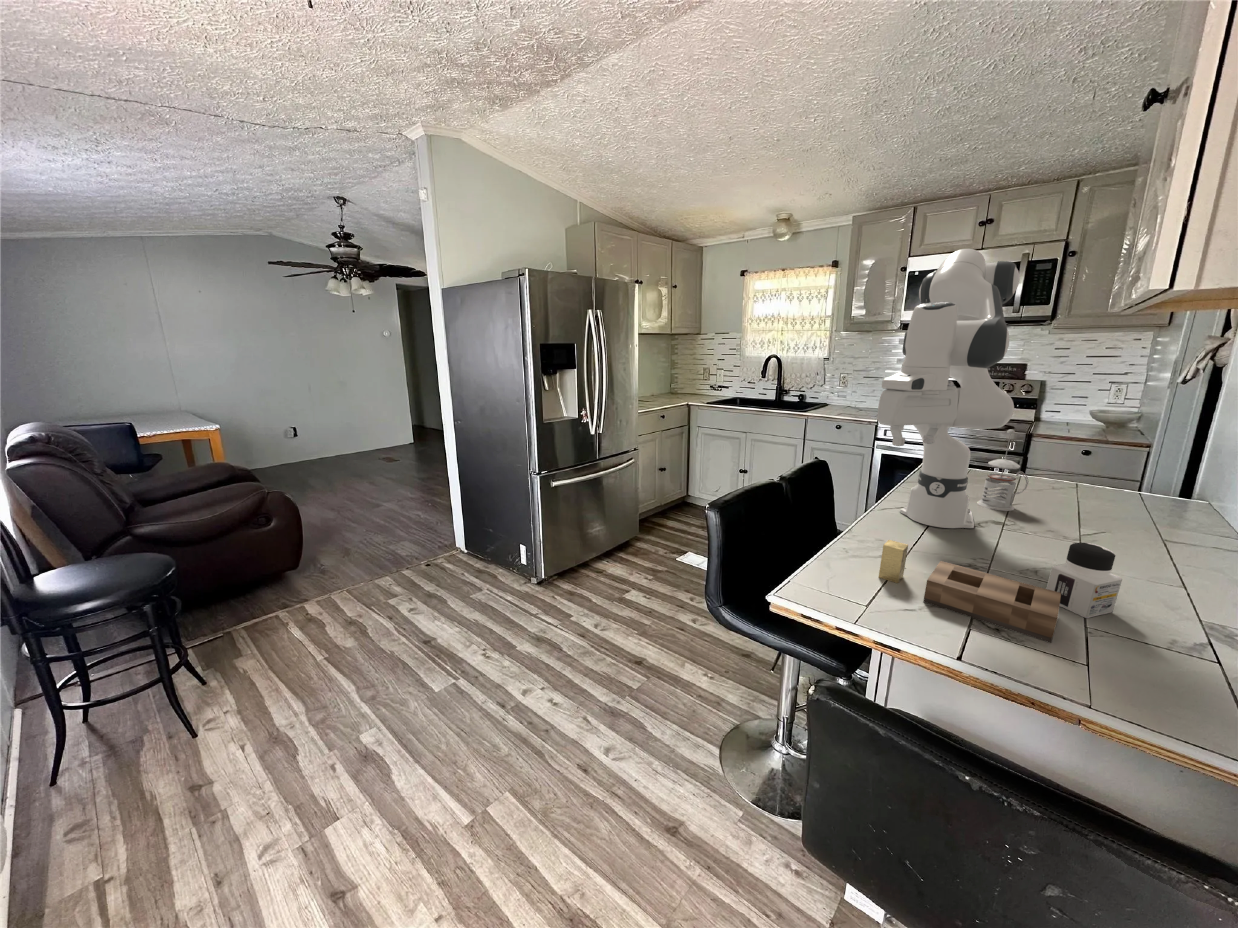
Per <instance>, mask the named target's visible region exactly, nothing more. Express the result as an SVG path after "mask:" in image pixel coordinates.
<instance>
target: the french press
mask: <svg viewBox="0 0 1238 928" xmlns="http://www.w3.org/2000/svg"><path fill="white" fill-rule="evenodd" d="M1015 432H1016V431H1015V430H1014V429H1008V430H1006V433H1007V434H1009V438H1008V442H1007V445H1006V452H1005V457H1004V458H1003V459H1001V458H997V459H993V460H991V461H988V463H987V464H988V465H989V466H990V467H994V468H998V469H1002V470H1001V471H1002V472H1001V473H988V474H987V478H985V481H984V486H983V491H982V495H981V499H979V500H978V501H977V502H976V504H978V506H981V507H983V508H987V509H990V510H996V511H1004V512H1007V511H1008V512H1011V511H1012V512H1013V511H1014V510H1015V507H1014V506H1013V501H1014V498H1015V495H1020V494H1022V493H1023V492H1025V491H1026V490H1027V487H1028V485H1029V478H1028V475H1027V474H1026V473H1024V472H1023V471H1021V470H1019V469H1020V468H1021V465H1020V464H1018V463H1017V462H1015V461H1013V460H1009V459H1007V454H1008V449H1009V445H1010V441H1011V435H1012V434H1013V435H1014V434H1015ZM1004 469H1005V470H1019V471H1017V472H1016V476H1017V477H1018V476H1019V475H1020V474H1021V475H1022V476H1023V477H1024V480H1025V486H1024V488H1023V489H1022V490H1021V491H1017V492H1015V489H1016V484H1017V483H1016V482H1015V481H1016V478H1015V477H1014V476H1011V475H1007V474H1003V472H1004ZM1003 483H1004V484H1003ZM995 492H996V493H995ZM1014 492H1015V493H1014Z"/></svg>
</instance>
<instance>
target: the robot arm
mask: <svg viewBox="0 0 1238 928" xmlns="http://www.w3.org/2000/svg"><path fill="white" fill-rule="evenodd" d="M1020 279H1021V278H1020V271H1019V270H1018V268H1017V264H1016V263H1015V262H1013V261H1007V260H1006V261H1004V260H999V261H997V262H986V260H985V257H984V255H983V254H982V253H981V252H980V251H978V250H976V249H973V248H961V249H958V250H955V251H954V252H952V253H950V254H949V255H948V256H947V257H946V258H945V259H944V260H943V261H942V262H941V264H940V265H939V266H938V268H937V269H936V270H934V271H933V272H931V273H929V274H927V275H926V276H925V277H924V278H923V279H922V282H921V284H920V287H919V290H918V291H919V292H918V297H919V301H920V304H918V305H916V306H915V307H914V309H913V311H912V314H911V317H910V320H909V324H908V327H907V331H906V332H905V333H904V335H903V337H904V338H903V343H902V344H903V345H902V349H901V350H902V354H903V356H905V357H904V361H903V362H902V366H901V371H898V372H896V373H895V374H893V375H892V374H891V375H890V376H888V377H885V378H883V379H882V381H881V382H882V383H881V388H882V389H883V391H882V392H881V394H880V396H879V397H880V398H879V401H878V409H877V415H876V417H877V418H876V419H877V421H878V423H879V425H883V426H888V427H889V426H890V427H889V428H890V429H889V430H890V433H891V436H892V442H891V443H892V445H893V446H895V447H903V446H904V445H905V441H906V438H905V437H903V433H902V431H904V428H905V426H914V428H915V429H916V430H917V432H918V433H919V436H920V438H921V440H922V444H923V456H922V465H921V470H920V471H919V473H918V475H917V484H916V485H915V486H913V487H911V489H910V491H909V496H908V501H907V505H906V506H904V507H902V508H900V511H899V513H901V514H903V515H905V516H907V517H908V518H909V519H911V520H913V521H915V522H917V523H920V524H923V525H927V526H930V527H935V528H943V529H961V528H962V529H964V528H965V529H974V528H975V523H974V517H973V512H972V510H971V509H970V508H969V505H970V500H971V499H970V498H969V496H968V493H967V491H966V490H967V488H968V484H969V482H968V481H969V478H968V470H969V465H970V459H971V456H972V455H971V454H972V453H971V450H970V448H969V446H968V445H966V444H965V443H964V442H963V441H960V440H958V439H957V438H955V437H953V436H952V435H950V434H949V429H951V428H958V429H959V428H960V429H969V430H987V429H988V430H991V429H998V428H999V429H1000V428H1002V427H1004V426H1005V425H1006V424H1008V423H1009V422H1010V420H1011V419H1012V417H1013V415H1014V411H1015V405H1014V400H1013V399H1012V397H1011V396H1010V395H1009V394H1008V393H1007V392H1005V391H1004V390H1002V389H1001V388H1000V387H999V386H998V385H996V383H995V382H994V380H993V379H992V378H991V376H990V373H989V369H988V368H990V367H992V366H994V365H996V364H997V363H999V362H1000V361H1002V360H1003V359H1004V357H1005V355H1006V353H1007V352H1008V349H1009V346H1010V332H1009V329H1008V325H1007V324H1006V321H1005V320H1006V319H1005V316H1004V308H1003V305H1005V304H1006V303H1008V301H1010V299H1012V297H1013V296H1014V294H1015V292H1016V291H1017V290H1018V287H1019V284H1020ZM949 378H950V379H953V380H955V381H957V383H958V384H959V385H960V387H957V386H956V385H955V384H954V382H953V381H952V380H950V379H949Z"/></svg>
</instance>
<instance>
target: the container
mask: <svg viewBox="0 0 1238 928" xmlns="http://www.w3.org/2000/svg"><path fill="white" fill-rule="evenodd" d="M1115 559H1116V554H1115V552H1114V551H1112V550H1111V549H1109V548H1107V547H1105V546H1103V545H1099V544H1095V543H1092V542H1091V543H1090V542H1075V543H1072V544H1070V545H1069V547H1068V551H1067V556H1066V559H1065V563H1060V564H1055V565H1052V566H1051V569H1050V572H1049V576H1048V580H1047V584H1046V588H1045V589H1048V590H1052V591H1056V592H1060V593H1061V598H1060V605H1059V608H1063V609H1065V610H1067V611H1069V612H1071V613H1074V614H1076V615H1078V616H1081V617H1083V618H1085V619H1089V618H1092V617H1098V616H1101V615H1106V614H1110V613H1113V612H1114V609H1115V606H1116V603H1117V600H1118V596H1119V592H1120V589H1121V586H1122V585H1121V584H1122V582H1123V578H1122V576H1119V575H1116V574H1113V573H1112V570H1113V565H1114V564H1115V563H1114V562H1115Z"/></svg>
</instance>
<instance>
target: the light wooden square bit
mask: <svg viewBox="0 0 1238 928" xmlns="http://www.w3.org/2000/svg"><path fill="white" fill-rule="evenodd" d="M908 549H909V544H907V543H904V542H899V541H895V540H893V539H892V540H891V539H888V540H887V541H886V542H885V543H883V545H882V551H881V558H880V565H879V572H878V578H880V579H883V580H885V581H887V582H888V581H889V582H892V583H895V584H899V583H900V582H901V580H902V579H904V574H905V569H906V567H905V566H906V561H907V555H908Z"/></svg>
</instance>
